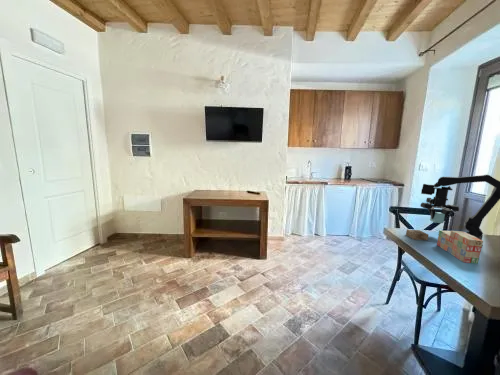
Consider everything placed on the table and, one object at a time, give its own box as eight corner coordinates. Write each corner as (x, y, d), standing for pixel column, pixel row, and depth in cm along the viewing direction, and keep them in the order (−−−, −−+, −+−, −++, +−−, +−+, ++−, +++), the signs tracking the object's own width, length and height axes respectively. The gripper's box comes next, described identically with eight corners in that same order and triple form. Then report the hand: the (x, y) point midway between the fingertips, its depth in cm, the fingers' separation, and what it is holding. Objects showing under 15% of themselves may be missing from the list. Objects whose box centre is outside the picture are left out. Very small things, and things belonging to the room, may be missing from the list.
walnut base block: (418, 235, 142) (419, 230, 142) (427, 240, 134) (428, 234, 134) (405, 235, 143) (406, 229, 142) (413, 239, 135) (414, 233, 134)
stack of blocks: (436, 245, 128) (439, 225, 126) (448, 246, 126) (452, 226, 125) (463, 262, 107) (468, 238, 105) (478, 264, 106) (483, 240, 104)
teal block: (438, 221, 144) (440, 212, 143) (443, 223, 139) (445, 214, 138) (430, 220, 145) (431, 211, 144) (434, 222, 141) (435, 213, 140)
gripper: (450, 195, 145) (446, 217, 147) (418, 192, 150) (414, 214, 152) (461, 198, 134) (457, 222, 137) (426, 195, 139) (422, 219, 141)
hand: (436, 219), depth 142 cm, fingers closed on teal block, 5 cm apart
